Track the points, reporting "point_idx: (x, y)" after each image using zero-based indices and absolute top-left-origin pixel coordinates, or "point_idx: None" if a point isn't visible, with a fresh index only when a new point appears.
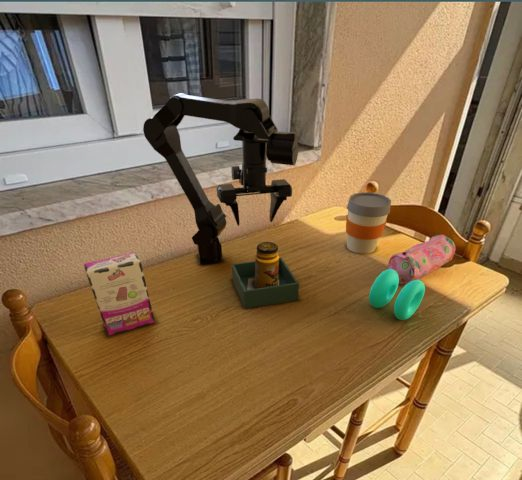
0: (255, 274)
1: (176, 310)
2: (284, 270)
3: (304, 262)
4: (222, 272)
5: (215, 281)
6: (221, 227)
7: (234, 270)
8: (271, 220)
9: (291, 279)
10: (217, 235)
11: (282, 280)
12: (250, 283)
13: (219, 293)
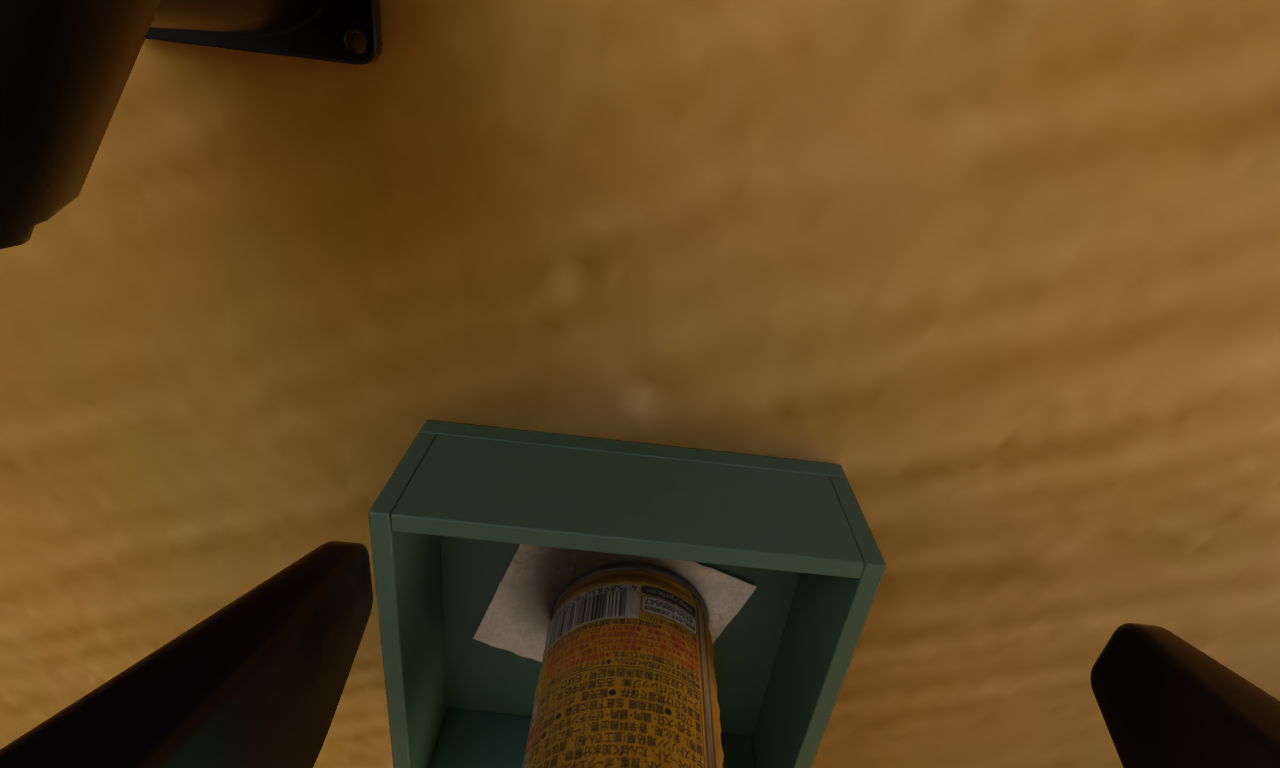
0: (534, 705)
1: (25, 596)
2: (814, 638)
3: (1148, 381)
4: (363, 272)
5: (287, 387)
6: (75, 62)
7: (378, 608)
8: (1116, 731)
9: (781, 757)
10: (74, 192)
11: (779, 587)
12: (537, 554)
13: (306, 534)
